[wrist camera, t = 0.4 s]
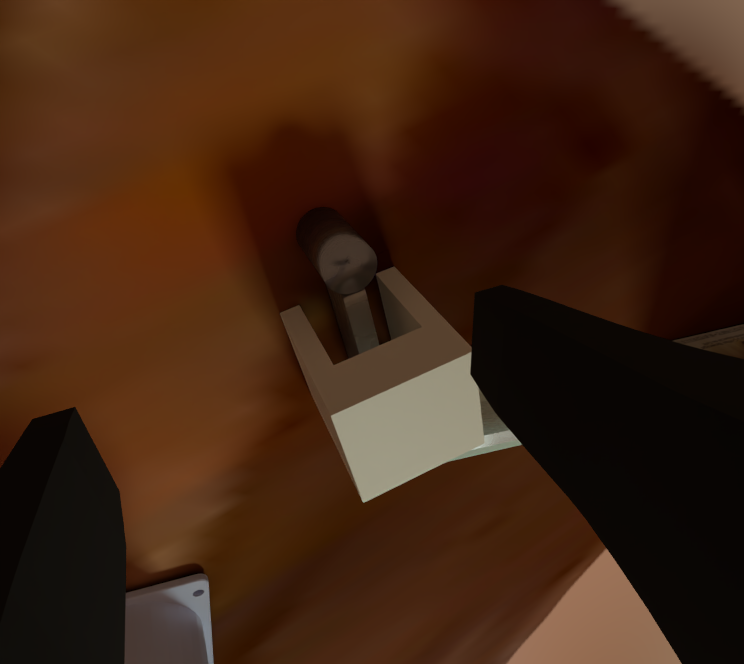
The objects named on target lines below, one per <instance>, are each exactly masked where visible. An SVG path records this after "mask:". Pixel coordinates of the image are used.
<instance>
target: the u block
mask: <svg viewBox="0 0 744 664" xmlns="http://www.w3.org/2000/svg"><path fill="white" fill-rule="evenodd" d="M376 278H377V282H378V286H379V291H380V295H381V299H382V303H383V307H384V312H385V316H386V320H387V324H388V329H389V333H390V337H391V341H389V342H386V343H384V344H382V345H379V346H377V347H375V348H372V349H370V350H368V351H366V352H363V353H361V354H359V355H356V356H354V357H352V358H349V359H347V360H345V361H343V362H340V363H338V364H336V365H333V364H332V362H331V360H330V358H329V356H328V355H327V353H326V351H325V349H324V348H323V346H322V344H321V342H320V341H319V339H318V337H317V335H316V334H315V332H314V330H313V328H312V327H311V325H310V323H309V321H308V320H307V318H306V316H305V314H304V312H303V311H302V309H301V307H300V305H298V306H295V307H293V308H290V309H288V310H286V311H283V312H281V313H280V316H281V318H282V321H283V323H284V326H285V328H286V331H287V334H288V336H289V339H290V341H291V344H292V346H293V349H294V351H295V354H296V357H297V359H298V362H299V364H300V367H301V369H302V372H303V374H304V377H305V379H306V382H307V385H308V387H309V390H310V392H311V395H312V397H313V399H314V401H315V403H316V405H317V407H318V409H319V412H320V414H321V416H322V418H323V420H324V422H325V424H326V426H327V428H328V430H329V432H330V435H331V437H332V439H333V441H334V443H335V445H336V447H337V449H338V451H339V453H340V455H341V458H342V460H343V462H344V464H345V466H346V468H347V470H348V472H349V474H350V476H351V478H352V481H353V483H354V485H355V487H356V489H357V491H358V493H359V495H360V497H361V499H362V502H363V503H364V502H366V501H368V500H370V499H372V498H374V497H376V496H378V495H380V494H382V493H384V492H386V491H388V490H390V489H393V488H395V487H397V486H399V485H401V484H403V483H405V482H407V481H409V480H411V479H413V478H415V477H417V476H419V475H421V474H423V473H425V472H427V471H429V470H431V469H433V468H435V467H437V466H439V465H441V464H443V463H445V462H447V461H449V460H451V459H453V458H456V457H458V456H460V455H462V454H464V453H466V452H468V451H470V450H472V449H474V448H476V447H478V446H480V445H482V444H484V443H485V442H484V433H483V424H482V415H481V405H480V396H479V387H478V386H477V384H476V383H475V381H474V379H473V378H472V376H471V375H470V368H471V351H472V347H471V346H470V345H469V344H468V343H467V342H466V341H465V340H464V339H463V338H462V337H461V336H460V335H459V334H458V333H457V332H456V331H455V330H454V329H453V328H452V327H451V325H450V324H449V323H448V322H447V321H446V320H445V319H444V318H443V317H442V316H441V315H440V314H439V313H438V312H437V311H436V310H435V309H434V308H433V307H432V306H431V305H430V303H429V302H428V301H427V300H426V299H425V298H424V297H423V296H422V295H421V294H420V293H419V292H418V291H417V290H416V289H415V288H414V287H413V286H412V285H411V284H410V283H409V282H408V280H407V279H406V278H405V277H404V276H403V275H402V274H401V273H400V272H399V271H398V270H397V269H396V268H395V267H391V268H389V269H386V270H384V271H381V272H379V273H376Z"/></svg>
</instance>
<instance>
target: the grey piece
mask: <svg viewBox="0 0 744 664" xmlns="http://www.w3.org/2000/svg"><path fill="white" fill-rule="evenodd" d="M296 237H297V241H298V243H299V245H300V247H301V248H302V250H303V251H304V253H305V254H306V255H307V257H308V258H309V260H310V261H311V263H312V264H313V266H314V267H315V269H316V270H317V271H318V273H319V274H320V276H321V277H322V279H323V280H324V282H325V283H326V287H327V290H328V293H329V296H330V299H331V303H332V306H333V309H334V312H335V316H336V319H337V322H338V325H339V328H340V332H341V335H342V338H343V341H344V345H345V348H346V351H347V354H348V357H349V358H352V357H354V356H356V355H359V354H361V353H363V352H366V351H368V350H370V349H372V348H375V347H377V346H379V342H378V338H377V334H376V330H375V326H374V322H373V318H372V315H371V311H370V307H369V303H368V299H367V295H366V291H365V289H364V287H366V286H367V285H368V284H369V283H370V282H371V280H372V279H373V277H374V275H375V273H376V270H377V257H376V254H375V252H374V251H373V249H372V248H371V247H370V246H369V245H368V244H367V243H366V242H365V241H364V240H363V239H362V238H361V236H360V235H359V234H358V233H357V232H356V231H355V230H354V229H353V228H352V227H351V226H350V225H349V224H348V223H347V222H346V220H345V219H344V218H343V217H342V216H341V215H340V214H339V213H338V212H337V211H335V210H333V209H331V208H327V207H320V208H315V209H313V210H311V211H309V212H308V213H306V214H305V215H304V216H303V217H302V219H301V220H300V222H299V224H298V226H297V231H296ZM480 405H481V415H482V424H483V433H484V442H485V443H484V444H482V445H480V446H478V447H476V448H474V449H479V448H483V447H488V446H492V445H496V444H501V443H505V442H510V441H514V440H518V439H517V438H516V437H515V436H514V435H513V433H512V432H511V431H510V430H509V429H508V428H507V426H506V425H505V424H504V423H503V422H502V420H501V419H500V418H499V417H498V416H497V414H496V413H495V412H494V410H493V409H492V407H491V406H490V404H489V403H488V401H484V402H480ZM474 449H472V450H474Z"/></svg>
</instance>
